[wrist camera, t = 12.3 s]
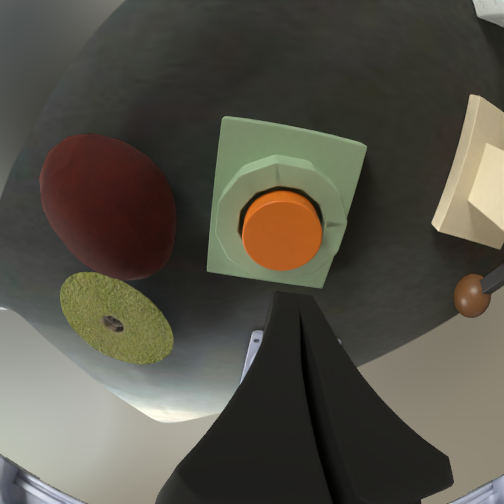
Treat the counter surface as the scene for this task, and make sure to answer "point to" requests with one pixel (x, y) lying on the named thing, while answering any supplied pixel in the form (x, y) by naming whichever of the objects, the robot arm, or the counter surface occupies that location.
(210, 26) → the counter surface
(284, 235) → the button
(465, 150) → the bracket
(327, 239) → the control block
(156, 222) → the potato
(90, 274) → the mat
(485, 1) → the white packaging box
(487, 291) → the lever
